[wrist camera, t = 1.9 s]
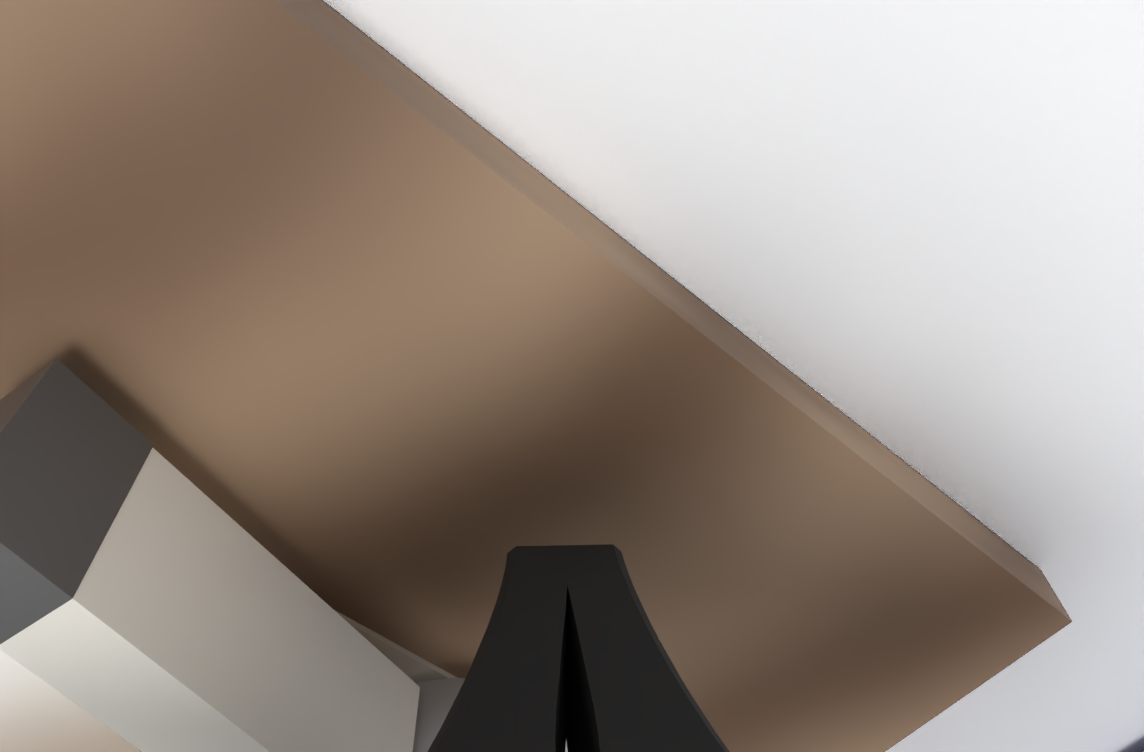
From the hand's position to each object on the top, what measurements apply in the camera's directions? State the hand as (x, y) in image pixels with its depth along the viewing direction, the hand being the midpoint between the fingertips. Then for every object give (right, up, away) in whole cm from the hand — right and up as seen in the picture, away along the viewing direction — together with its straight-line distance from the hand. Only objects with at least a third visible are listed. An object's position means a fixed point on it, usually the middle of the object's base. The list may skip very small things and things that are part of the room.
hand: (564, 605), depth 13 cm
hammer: (-4, -1, +2) cm, 4 cm away
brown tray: (-5, -1, +4) cm, 6 cm away
